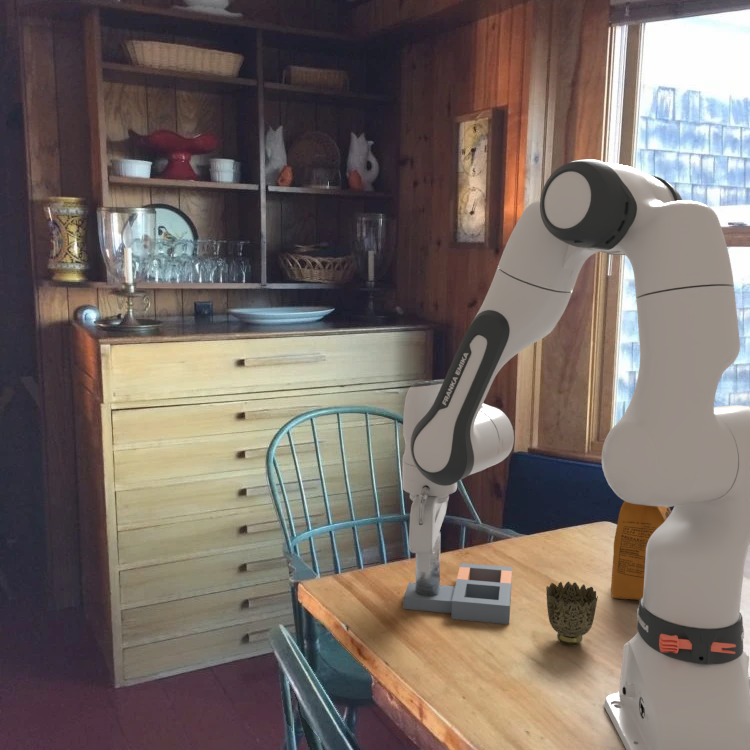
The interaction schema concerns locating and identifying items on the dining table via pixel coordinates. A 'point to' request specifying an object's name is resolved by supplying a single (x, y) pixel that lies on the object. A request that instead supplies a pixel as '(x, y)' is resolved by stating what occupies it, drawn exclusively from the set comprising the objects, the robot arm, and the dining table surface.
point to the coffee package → (633, 547)
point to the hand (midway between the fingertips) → (428, 560)
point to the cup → (571, 611)
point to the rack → (469, 595)
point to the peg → (429, 574)
